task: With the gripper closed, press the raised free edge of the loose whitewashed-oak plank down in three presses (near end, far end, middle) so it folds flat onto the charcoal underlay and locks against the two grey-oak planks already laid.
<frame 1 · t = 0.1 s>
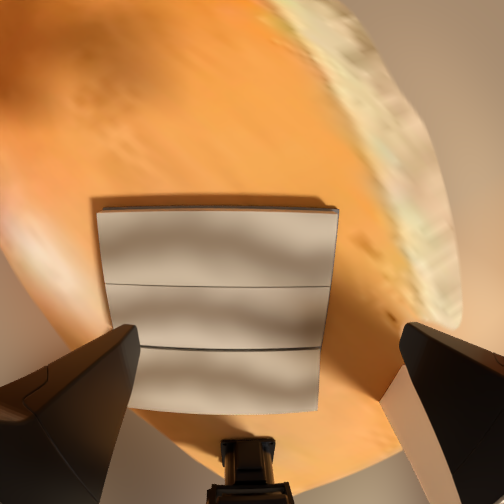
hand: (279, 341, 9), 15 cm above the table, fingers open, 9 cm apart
laid planks: (215, 279, 24), resting on underlay mat
loose plank: (217, 382, 25), point 2 cm above the table, hinge at 25.0°
underlay mat: (219, 318, 25), on the table
milk: (407, 383, 30), on the table
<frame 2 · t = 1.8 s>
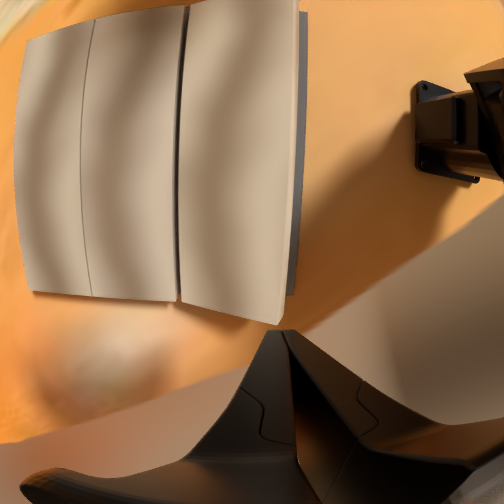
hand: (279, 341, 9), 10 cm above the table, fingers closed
laid planks: (91, 153, 16), resting on underlay mat
loose plank: (234, 146, 14), point 2 cm above the table, hinge at 25.0°
underlay mat: (143, 145, 16), on the table
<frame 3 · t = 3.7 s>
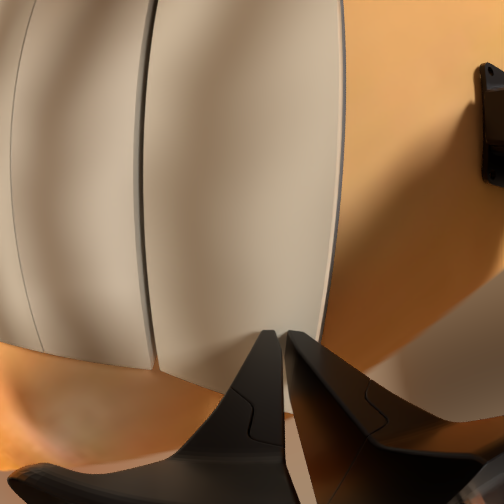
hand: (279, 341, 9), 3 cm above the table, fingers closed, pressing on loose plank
laid planks: (30, 155, 10), resting on underlay mat
loose plank: (234, 137, 8), point 2 cm above the table, hinge at 24.3°, touching gripper
underlay mat: (96, 140, 10), on the table
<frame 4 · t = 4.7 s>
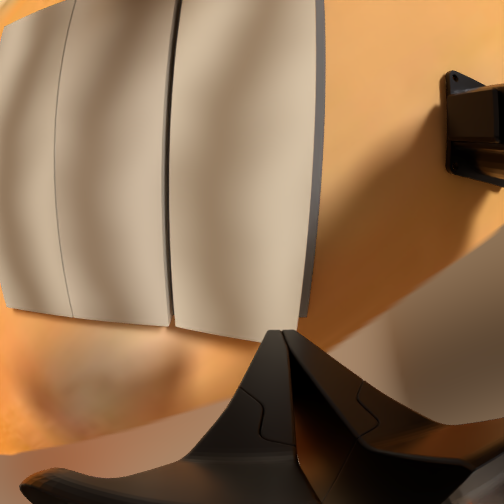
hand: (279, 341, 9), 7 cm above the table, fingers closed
laid planks: (69, 150, 13), resting on underlay mat
loose plank: (240, 140, 12), point 2 cm above the table, hinge at 15.7°
underlay mat: (128, 139, 13), on the table
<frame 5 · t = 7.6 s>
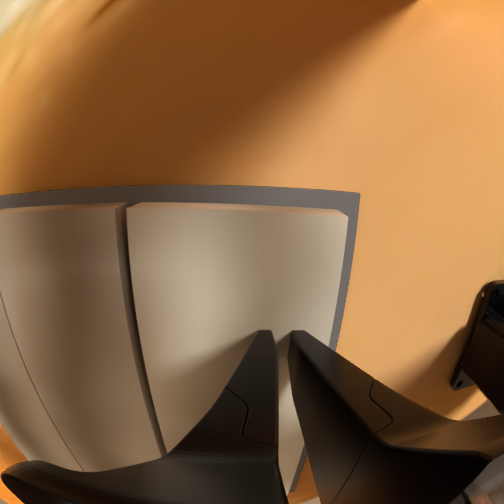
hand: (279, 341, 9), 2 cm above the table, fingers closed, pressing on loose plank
laid planks: (54, 386, 11), resting on underlay mat
loose plank: (232, 428, 11), point 1 cm above the table, hinge at 4.9°, touching gripper
underlay mat: (114, 395, 12), on the table
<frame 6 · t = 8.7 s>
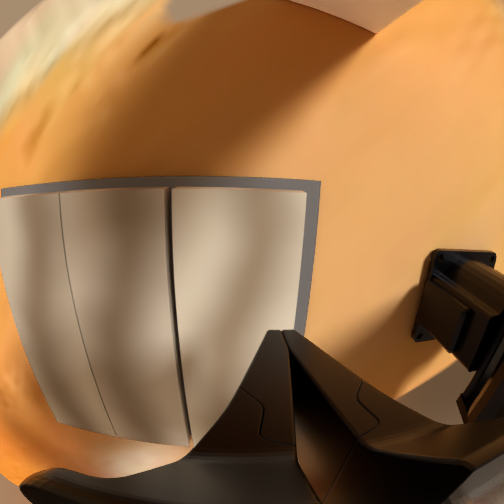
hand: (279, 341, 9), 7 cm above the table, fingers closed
laid planks: (93, 333, 17), resting on underlay mat
loose plank: (235, 353, 16), point 1 cm above the table, hinge at 1.9°
underlay mat: (144, 335, 17), on the table
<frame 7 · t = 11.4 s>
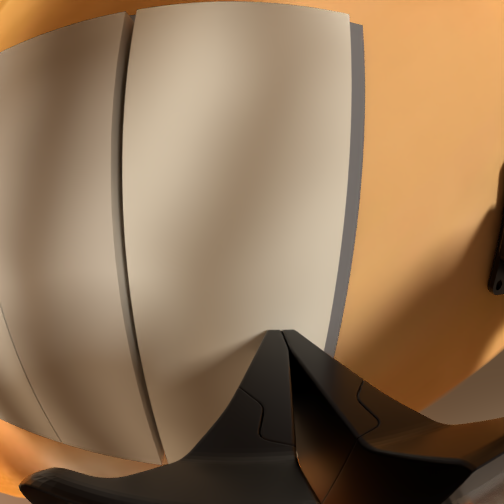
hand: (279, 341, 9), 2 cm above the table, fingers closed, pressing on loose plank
laid planks: (17, 278, 10), resting on underlay mat
loose plank: (230, 305, 9), point 1 cm above the table, hinge at 1.8°, touching gripper
underlay mat: (82, 278, 10), on the table
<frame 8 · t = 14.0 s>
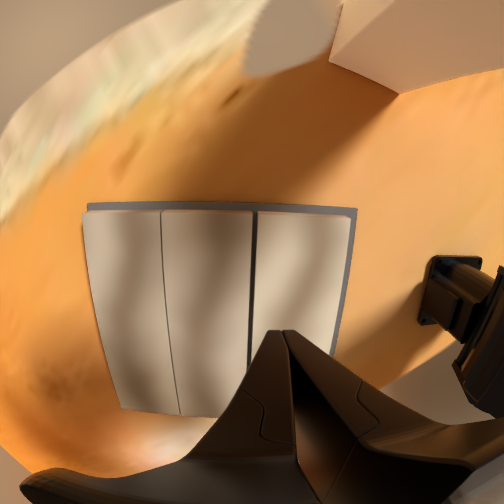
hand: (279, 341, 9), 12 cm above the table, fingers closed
laid planks: (172, 325, 22), resting on underlay mat
loose plank: (292, 334, 22), point 1 cm above the table, hinge at 1.8°
underlay mat: (218, 324, 22), on the table
milk: (371, 46, 17), on the table
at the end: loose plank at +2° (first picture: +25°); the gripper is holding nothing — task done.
